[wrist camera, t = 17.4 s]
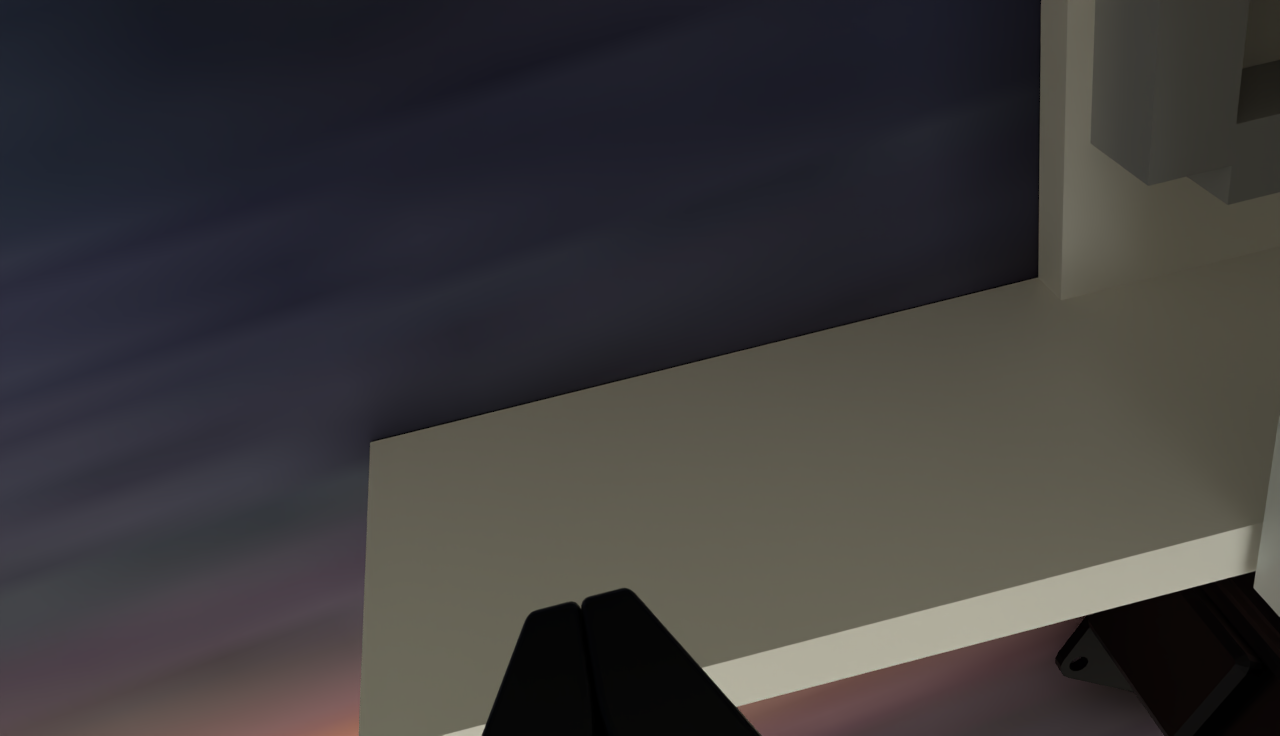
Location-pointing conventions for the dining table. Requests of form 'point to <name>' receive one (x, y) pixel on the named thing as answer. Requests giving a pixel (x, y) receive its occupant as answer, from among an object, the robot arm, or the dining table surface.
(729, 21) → the dining table surface
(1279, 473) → the lid
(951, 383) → the housing
